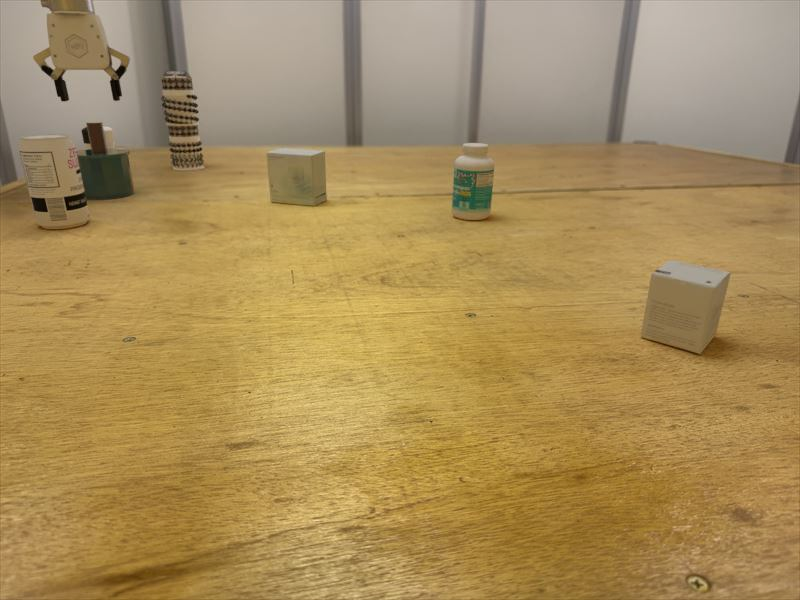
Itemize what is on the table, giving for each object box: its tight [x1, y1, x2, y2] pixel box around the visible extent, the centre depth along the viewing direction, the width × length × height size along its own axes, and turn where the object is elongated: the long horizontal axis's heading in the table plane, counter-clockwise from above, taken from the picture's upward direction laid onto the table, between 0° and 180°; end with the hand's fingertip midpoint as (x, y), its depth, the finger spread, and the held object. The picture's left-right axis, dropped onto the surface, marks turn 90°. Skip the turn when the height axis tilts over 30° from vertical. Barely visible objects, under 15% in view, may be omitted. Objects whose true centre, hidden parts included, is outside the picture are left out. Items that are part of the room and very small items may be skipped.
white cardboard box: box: [640, 259, 731, 355], centre depth 57 cm, size 6×6×7 cm
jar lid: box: [76, 121, 131, 159], centre depth 116 cm, size 11×11×7 cm
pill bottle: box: [451, 142, 495, 221], centre depth 103 cm, size 8×7×14 cm
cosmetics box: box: [265, 147, 328, 207], centre depth 114 cm, size 10×6×10 cm, turn 71°
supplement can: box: [17, 133, 91, 230], centre depth 94 cm, size 8×8×15 cm
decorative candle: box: [160, 70, 205, 172], centre depth 149 cm, size 9×9×25 cm
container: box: [81, 125, 124, 150], centre depth 130 cm, size 8×8×13 cm
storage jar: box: [78, 155, 135, 201], centre depth 119 cm, size 10×10×8 cm
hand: (91, 100), depth 113 cm, fingers open, 9 cm apart
